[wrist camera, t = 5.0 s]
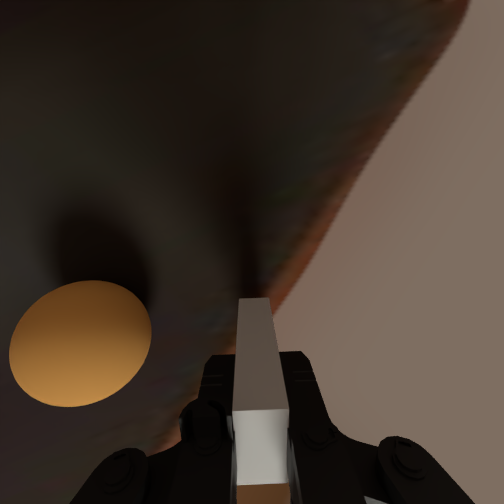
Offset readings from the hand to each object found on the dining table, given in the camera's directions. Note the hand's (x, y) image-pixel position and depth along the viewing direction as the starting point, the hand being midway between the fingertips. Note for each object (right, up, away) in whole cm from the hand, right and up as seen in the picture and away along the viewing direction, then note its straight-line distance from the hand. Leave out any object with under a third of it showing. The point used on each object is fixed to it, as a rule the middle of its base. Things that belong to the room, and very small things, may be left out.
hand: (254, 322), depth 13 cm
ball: (-8, 0, -1) cm, 8 cm away
